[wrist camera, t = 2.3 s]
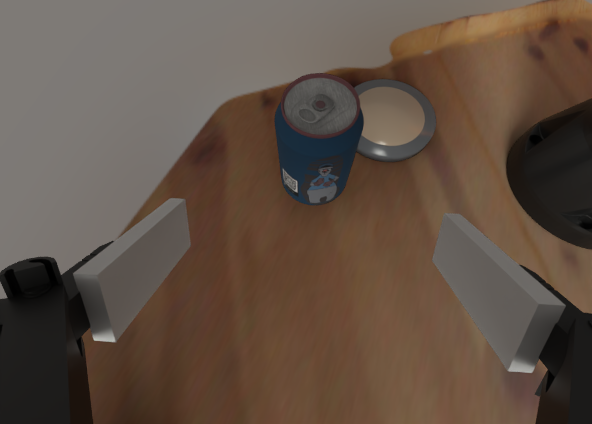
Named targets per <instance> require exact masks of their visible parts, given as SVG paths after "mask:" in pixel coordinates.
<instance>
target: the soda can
mask: <svg viewBox="0 0 592 424" xmlns="http://www.w3.org/2000/svg"><path fill="white" fill-rule="evenodd" d="M363 126H364V117H363V113H362V110H361V107H360V99H359V96H358V94H357V92H356V90H355V89H354V88H353V87H352V86H351V85H350V84H349V83H348V82H347V81H345V80H344V79H342V78H340V77H337V76H334V75H331V74H324V73H316V74H308V75H305V76H302V77H300V78H298V79H296V80H295V81H293V82H292V83H291V84H290V85H289V86H288V87H287V88H286V90H285V92H284V93H283V96H282V99H281V103H280V104H279V106H278V108H277V110H276V114H275V129H276V137H277V145H278V153H279V162H280V170H281V178H282V183H283V186H284V188H285V190H286V191H287V192H288V194H289V195H290V196H291V197H292V198H294V199H295V200H297V201H299V202H301V203H304V204H308V205H322V204H326V203H328V202H331V201H332V200H334V199H335V198H337V197H338V196H339V195H340V194H341V193H342V191H343V190H344V188H345V185H346V182H347V179H348V176H349V173H350V169H351V166H352V163H353V160H354V156H355V153H356V150H357V147H358V144H359V140H360V137H361V134H362V131H363Z"/></svg>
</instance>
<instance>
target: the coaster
mask: <svg viewBox="0 0 592 424" xmlns="http://www.w3.org/2000/svg"><path fill="white" fill-rule="evenodd" d="M354 89H355V90H356V92H357V94H358V96H359V99H360V107H361V110H362V113H363V117H364V126H363V131H362V134H361V137H360V140H359V144H358V147H357V150H356V152H358V153H360V154H361V155H363V156H365V157H367V158H370V159H373V160H377V161H383V162H397V161H402V160H406V159H409V158H411V157H413V156H415V155H417V154H418V153H419V152H421V151H422V150H423V149H424V148H425V146H426V145H427V143H428V142H429V140H430V139H431V138H432V136H433V134H434V131H435V127H436V116H435V112H434V109H433V107H432V105H431V103H430V102H429V101H428V99H427V98H426V97H425V96H424V95H423V94H422V93H421V92H420V91H418V90H417V89H415V88H414V87H412V86H410V85H408V84H405V83H403V82H399V81H395V80H388V79H378V80H371V81H367V82H364V83H362V84H360V85H358V86H356V87H355V88H354Z"/></svg>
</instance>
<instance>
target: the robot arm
mask: <svg viewBox="0 0 592 424" xmlns="http://www.w3.org/2000/svg"><path fill="white" fill-rule="evenodd" d="M507 173H508V178H509V182H510V186H511V188H512V191H513V193H514V195H515V196H516V198H517V200H518V201H519V203H520V205H521V206H522V207H523V209H524V210H525V211H526V212H527V213H528V214H529V215H530V216H531V218H532V219H534V220H535V221H536V222H537V223H538V224H539V225H540V226H542V227H543V228H544V229H546V230H547V231H549V232H550V233H552V234H553V235H555V236H557V237H558V238H560V239H562V240H564V241H566V242H569V243H571V244H574V245H576V246H580V247H583V248H587V249H592V98H591V99H589V100H587V101H584V102H582V103H580V104H577V105H575V106H573V107H571V108H568V109H566V110H564V111H561V112H559V113H557V114H554V115H552V116H550V117H548V118H545V119H543V120H542V121H540V122H538V123H537V124H535V125H534V126H533V127H532V128H530V129H529V130H528V131H527V132H526V133H525V134H524V135H522V136H521V137H520V138H519V139H518V140H517V141H516V142H515V144H514V145H513V147H512V149H511V151H510V153H509V157H508V162H507ZM190 246H191V244H190V236H189V227H188V219H187V211H186V202H185V199H176V198H170V199H169V200H167V201H166V202H165V203H164V204H162V205H161V206H160V207H158V208H157V209H156V210H154V211H153V212H152V213H151V214H149V215H148V216H147V217H145V218H144V219H143V220H142V221H140V222H139V223H138V224H136V225H135V226H134V227H132V228H131V229H130V230H129V231H127V232H126V233H125V234H123V235H122V236H121V237H120V238H118V239H117V240H116V241H111V242H109V243H107V244H105V245H102V246H100V247H99V248H97V249H96V250H94V251H93V252H92V253H91V254H90V255H88V256H86V257H85V258H84V259H82V261H80V262H78V263H77V264H76V265H75V266H73V267H72V268H70V269H69V270H68V271H66V272H65V273H64V274H62V275H61V274H60V271H59V269H58V265H57V262H56V261H55V259H54V258H51V257H36V258H30V259H26V260H23V261H19V262H17V263H15V264H12V265H11V266H8V267H7V268H5V269H4V270H2V271H1V273H0V282H1V284H2V286H3V288H4V291H5V293H6V295H7V297H8V298H6V299H0V424H93V419H92V410H91V401H90V392H89V384H88V375H87V366H86V357H85V348H84V343H83V340H82V337H81V336H82V335H83V334H84V333H85V332H86V331H87V330H88V329H89V328H90V329H91V332H92V336H93V339H94V341H108V342H116V341H117V340H118V339H119V337H120V336H121V335H122V333H123V332H124V331H125V330H126V328H127V327H128V326H129V324H130V323H131V322H132V321H133V319H134V318H135V317H136V315H137V314H138V313H139V312H140V310H141V309H142V308H143V306H144V305H145V304H146V303H147V301H148V300H149V299H150V297H151V296H152V295H153V294H154V292H155V291H156V290H157V288H158V287H159V286H160V285H161V283H162V282H163V281H164V279H165V278H166V277H167V276H168V274H169V273H170V272H171V270H172V269H173V268H174V267H175V265H176V264H177V263H178V261H179V260H180V259H181V258H182V256H183V255H184V254H185V252H186V251H187V250H188V249H189V247H190ZM432 261H433V262H434V264H435V265H436V267H437V268H438V270H439V271H440V273H441V274H442V276H443V277H444V279H445V280H446V281H447V283H448V284H449V286H450V287H451V289H452V290H453V292H454V293H455V295H456V296H457V297H458V299H459V300H460V302H461V303H462V305H463V306H464V308H465V309H466V311H467V312H468V314H469V315H470V316H471V318H472V319H473V321H474V322H475V324H476V325H477V327H478V328H479V330H480V331H481V332H482V334H483V335H484V337H485V338H486V340H487V341H488V343H489V344H490V346H491V347H492V349H493V350H494V351H495V353H496V354H497V356H498V357H499V359H500V360H501V362H502V363H503V365H504V366H505V367H506V369H507V370H508V371H514V372H528V373H532V372H533V370H534V368H535V366H536V364H537V362H538V360H539V359H540V360H541V361H542V363H543V364H544V365H545V366H546V367H547V369H548V370H547V372H546V374H545V376H544V378H543V380H542V382H541V384H540V385H539V387H538V389H537V391H536V393H535V395H537V396H540V401H539V407H538V413H537V418H536V424H592V314H590V313H583V312H582V311H580V310H579V309H578V308H577V307H576V306H574V305H573V304H572V303H571V302H570V301H568V300H567V299H566V298H565V297H564V296H562V295H561V294H560V293H559V292H558V291H556V290H554V288H553V287H552V286H551V285H549V284H548V283H546V281H545V280H543V279H542V278H541V277H540V276H539V275H537V274H536V273H535V272H533V271H531V270H529V269H528V268H526V267H524V266H522V265H518V264H517V263H516V262H515V261H514V260H513V259H511V258H510V257H509V256H508V255H507V254H506V253H504V252H503V251H502V250H501V249H500V248H499V247H498V246H496V245H495V244H494V243H493V242H492V241H491V240H489V239H488V238H487V237H486V236H485V235H484V234H482V233H481V232H480V231H479V230H478V229H477V228H476V227H474V226H473V225H472V224H471V223H470V222H469V221H467V220H466V219H465V218H464V217H463V216H462V215H460V214H450V213H444V216H443V220H442V224H441V228H440V232H439V235H438V239H437V243H436V247H435V251H434V255H433V259H432Z"/></svg>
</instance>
